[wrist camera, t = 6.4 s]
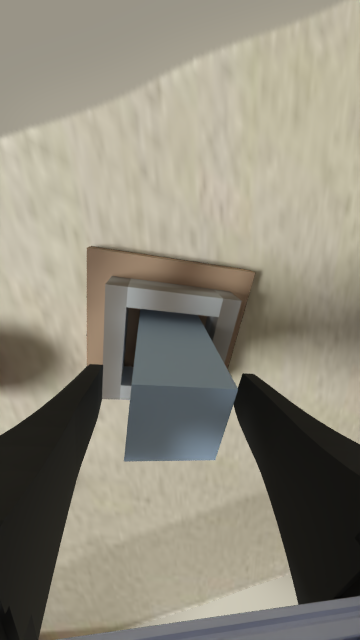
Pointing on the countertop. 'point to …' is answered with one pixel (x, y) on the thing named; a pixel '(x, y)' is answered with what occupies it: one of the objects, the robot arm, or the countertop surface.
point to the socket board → (155, 306)
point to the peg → (177, 391)
